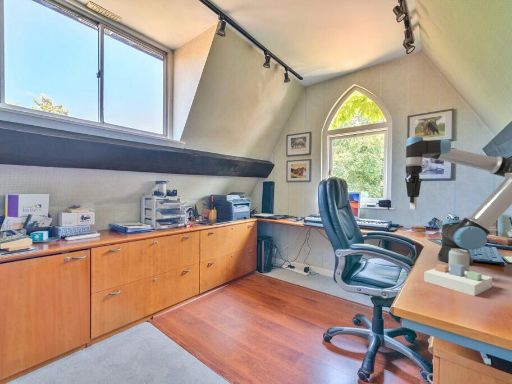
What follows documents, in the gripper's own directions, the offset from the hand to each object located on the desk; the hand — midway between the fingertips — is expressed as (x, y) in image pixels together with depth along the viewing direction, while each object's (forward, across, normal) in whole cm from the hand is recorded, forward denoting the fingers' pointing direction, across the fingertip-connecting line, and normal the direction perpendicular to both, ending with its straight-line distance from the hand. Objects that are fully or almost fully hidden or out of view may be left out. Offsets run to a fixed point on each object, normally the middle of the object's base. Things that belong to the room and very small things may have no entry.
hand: (413, 208), depth 131 cm
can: (+30, +1, +21) cm, 36 cm away
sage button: (+28, +15, +31) cm, 45 cm away
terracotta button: (+28, +15, +20) cm, 38 cm away
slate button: (+26, +15, +25) cm, 40 cm away
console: (+29, +15, +26) cm, 42 cm away
